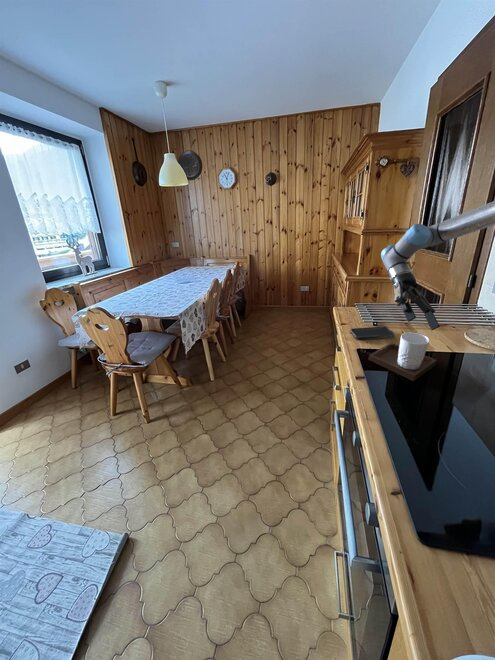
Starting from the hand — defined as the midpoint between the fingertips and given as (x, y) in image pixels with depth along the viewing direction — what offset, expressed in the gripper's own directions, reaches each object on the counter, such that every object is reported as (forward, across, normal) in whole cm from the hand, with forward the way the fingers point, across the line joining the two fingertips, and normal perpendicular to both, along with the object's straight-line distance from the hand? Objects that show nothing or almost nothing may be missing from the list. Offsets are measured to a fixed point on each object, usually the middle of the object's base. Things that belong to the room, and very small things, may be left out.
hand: (424, 324), depth 98 cm
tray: (+11, +6, -10) cm, 16 cm away
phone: (-6, +2, -19) cm, 20 cm away
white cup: (+13, +5, -8) cm, 16 cm away
